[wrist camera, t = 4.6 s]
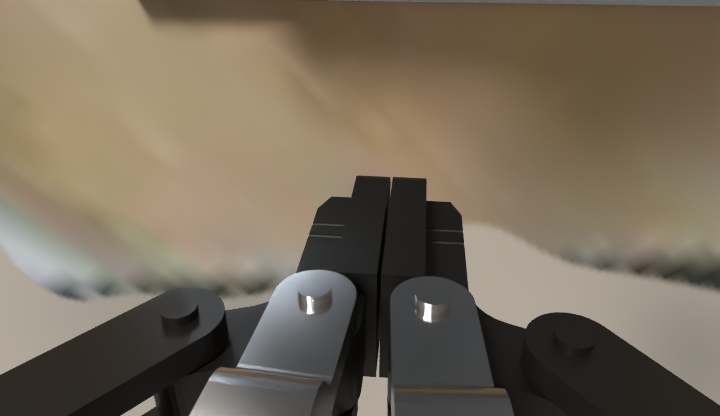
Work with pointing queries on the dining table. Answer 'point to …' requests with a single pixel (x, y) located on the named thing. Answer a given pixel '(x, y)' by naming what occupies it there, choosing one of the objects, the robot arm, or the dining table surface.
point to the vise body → (579, 2)
